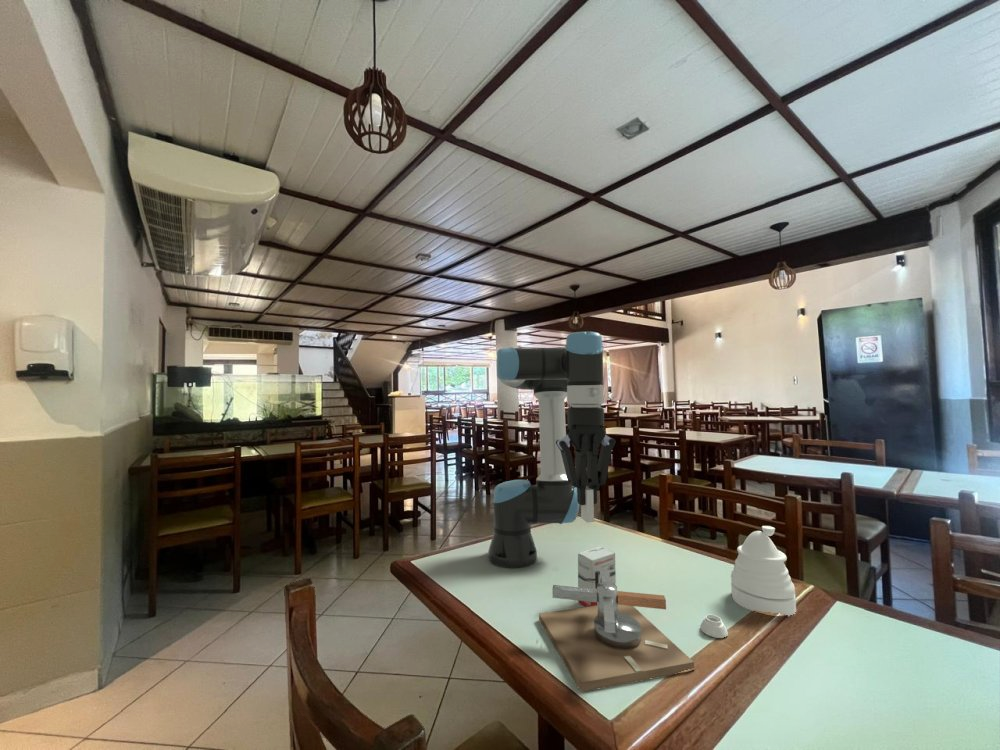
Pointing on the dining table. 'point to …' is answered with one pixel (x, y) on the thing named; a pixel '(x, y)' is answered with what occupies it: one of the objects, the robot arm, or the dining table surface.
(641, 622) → the board
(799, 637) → the dining table surface
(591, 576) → the ink box
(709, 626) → the white round hollow piece
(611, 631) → the capstan
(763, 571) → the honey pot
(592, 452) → the robot arm
